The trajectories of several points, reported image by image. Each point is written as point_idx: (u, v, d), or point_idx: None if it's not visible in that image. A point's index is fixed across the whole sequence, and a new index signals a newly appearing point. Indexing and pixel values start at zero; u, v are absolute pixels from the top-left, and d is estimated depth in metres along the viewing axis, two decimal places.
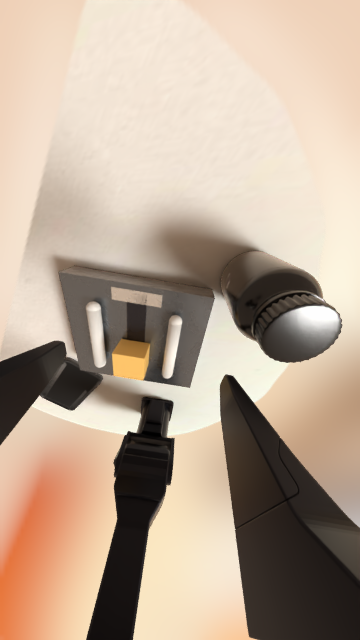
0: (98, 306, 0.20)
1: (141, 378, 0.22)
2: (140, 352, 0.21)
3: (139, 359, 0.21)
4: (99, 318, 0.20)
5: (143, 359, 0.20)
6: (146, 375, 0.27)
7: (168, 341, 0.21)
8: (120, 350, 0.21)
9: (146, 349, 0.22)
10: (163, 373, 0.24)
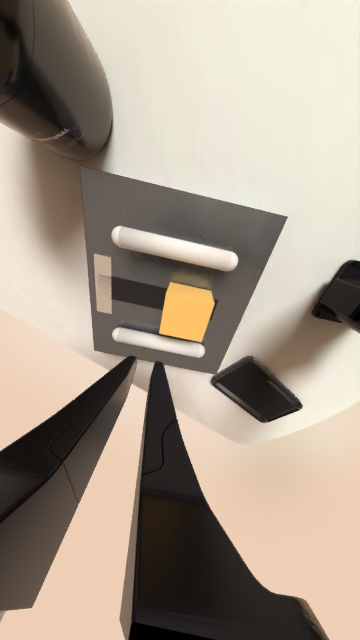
0: (116, 329, 0.18)
1: (209, 305, 0.14)
2: None
3: (167, 300, 0.14)
4: (129, 332, 0.18)
5: (167, 295, 0.13)
6: (237, 298, 0.16)
7: (151, 251, 0.13)
8: None
9: (168, 288, 0.15)
10: (222, 268, 0.14)
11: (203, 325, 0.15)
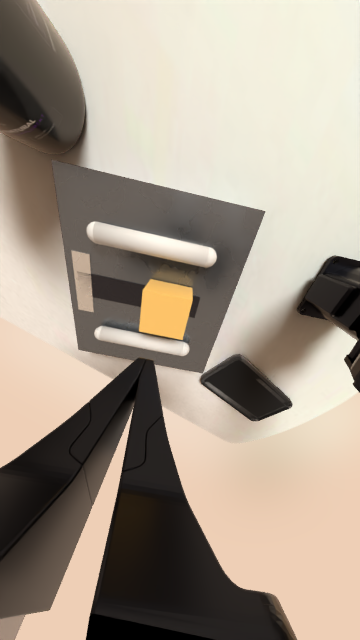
0: (98, 327, 0.18)
1: (187, 302, 0.13)
2: None
3: (145, 297, 0.13)
4: (111, 331, 0.18)
5: (144, 291, 0.13)
6: (219, 295, 0.16)
7: (128, 247, 0.13)
8: None
9: None
10: (201, 264, 0.14)
11: (183, 322, 0.14)
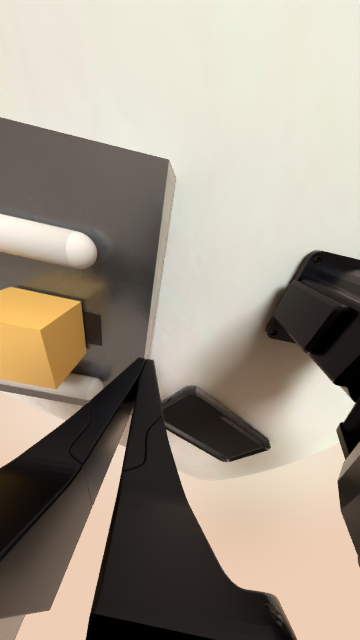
0: None
1: (32, 333, 0.07)
2: None
3: None
4: None
5: None
6: (129, 313, 0.10)
7: None
8: None
9: None
10: (62, 262, 0.07)
11: (43, 365, 0.08)
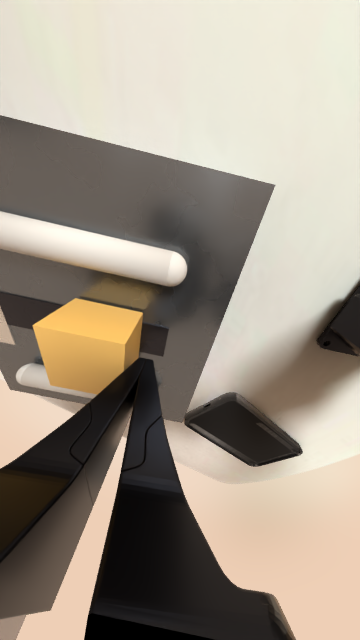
0: (22, 367, 0.12)
1: (116, 347, 0.07)
2: None
3: (41, 336, 0.07)
4: (40, 373, 0.12)
5: (37, 328, 0.07)
6: (198, 326, 0.10)
7: (25, 251, 0.07)
8: None
9: None
10: (158, 281, 0.08)
11: (117, 376, 0.08)
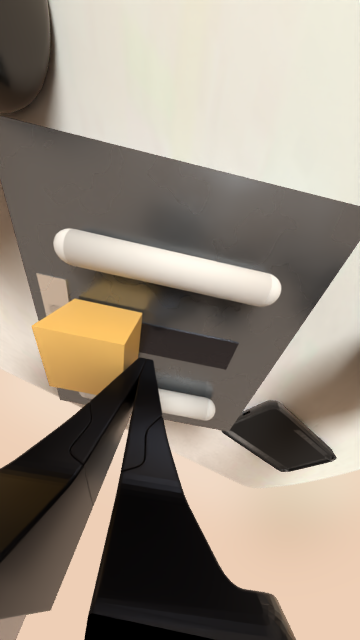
0: None
1: (115, 347, 0.07)
2: None
3: (40, 337, 0.07)
4: None
5: (36, 328, 0.07)
6: (269, 341, 0.10)
7: (126, 274, 0.07)
8: None
9: None
10: (253, 303, 0.08)
11: None
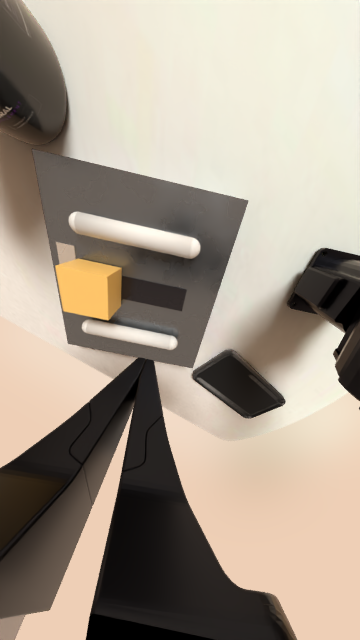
0: (85, 321, 0.18)
1: (102, 278, 0.13)
2: None
3: (59, 273, 0.13)
4: (99, 324, 0.18)
5: (57, 267, 0.13)
6: (206, 287, 0.16)
7: (110, 238, 0.13)
8: None
9: None
10: (184, 255, 0.13)
11: (104, 301, 0.14)
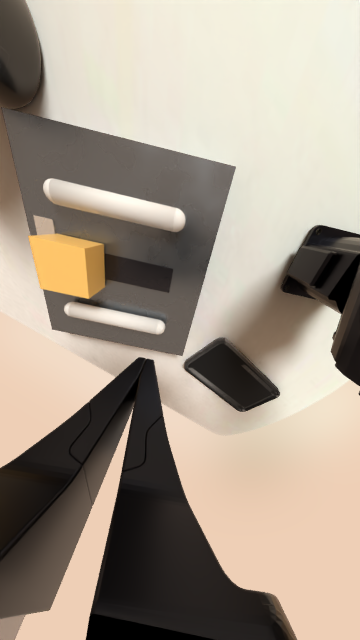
0: (68, 303, 0.17)
1: (79, 251, 0.12)
2: None
3: (33, 245, 0.12)
4: (82, 306, 0.17)
5: (31, 238, 0.12)
6: (193, 266, 0.15)
7: (88, 207, 0.12)
8: None
9: None
10: (167, 227, 0.13)
11: (83, 277, 0.13)
